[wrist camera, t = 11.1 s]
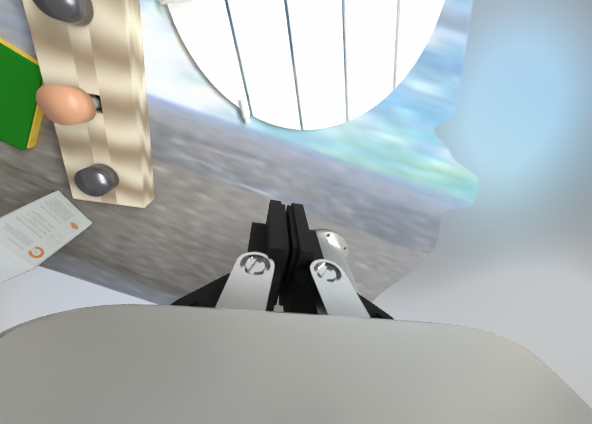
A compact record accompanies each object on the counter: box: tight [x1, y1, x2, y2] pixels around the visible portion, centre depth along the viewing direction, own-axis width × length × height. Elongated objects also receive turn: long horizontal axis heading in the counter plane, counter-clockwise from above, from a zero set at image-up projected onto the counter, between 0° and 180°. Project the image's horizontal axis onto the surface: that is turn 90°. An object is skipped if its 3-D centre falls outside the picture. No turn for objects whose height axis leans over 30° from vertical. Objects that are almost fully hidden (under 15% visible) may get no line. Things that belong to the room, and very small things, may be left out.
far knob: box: [74, 163, 119, 197], centre depth 38 cm, size 4×4×7 cm
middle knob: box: [36, 85, 102, 126], centre depth 30 cm, size 4×4×7 cm
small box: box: [0, 190, 92, 282], centre depth 38 cm, size 8×6×13 cm
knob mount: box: [22, 0, 155, 208], centre depth 34 cm, size 32×11×4 cm, turn 168°
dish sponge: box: [0, 38, 44, 150], centre depth 34 cm, size 7×14×2 cm, turn 143°
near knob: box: [33, 0, 94, 26], centre depth 28 cm, size 4×4×7 cm
